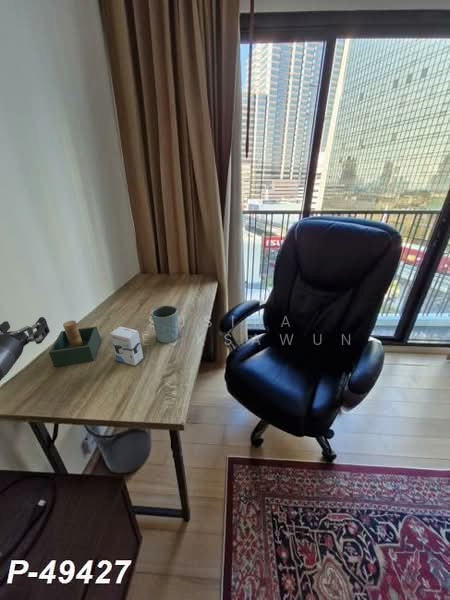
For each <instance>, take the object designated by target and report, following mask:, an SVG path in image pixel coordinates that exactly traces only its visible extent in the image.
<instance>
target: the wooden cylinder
mask: <svg viewBox="0 0 450 600" xmlns="http://www.w3.org/2000/svg"><path fill="white" fill-rule="evenodd" d="M62 326H63V330H64V331H65V332H66V335H67V338H68V341H69V344H70V346H71V348H74V347H81V346H84V345H83V342H82V339H81V336H80V333H79V330H78V329H79V327H78V324H77V321H76V320H73V319H72V320H67V321H65V322H64V323H63V324H62Z"/></svg>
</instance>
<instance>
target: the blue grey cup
mask: <svg viewBox="0 0 450 600" xmlns="http://www.w3.org/2000/svg"><path fill="white" fill-rule="evenodd" d="M178 312H179V311H178V307H176V306H174V305H161V306H160V305H159V306H157V307H155V308H153V309H152V310H151V312H150V315H151V319H152V322H153V326H154V331H155V335H156V339H157V340H158V342H160V343H163V344H168V343H169V344H170V343H173V342H174V341H176V340H177V339H178V338H179V327H178V326H179V321H178Z"/></svg>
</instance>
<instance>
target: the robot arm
mask: <svg viewBox="0 0 450 600" xmlns="http://www.w3.org/2000/svg"><path fill="white" fill-rule="evenodd" d="M10 329H11V324H10V323H9V320H8V321H7V320H6V321H5V320H4V321H3V322H2V323H0V382H1V381H2V380H3V379H4V378H5V377H6V376H7V374H9V372H10V371H11V370H12V368H13V367H14V365H15V364H16V363H17V361H18V360H19V358H20V357H21V356H22V354H23V353H24V352H23V351H24V348H25V346H27V345H28V344H29V343H33V342H34V343H35V344H36V345H40V344H42V343H43V341H44V340H45V339H46V337H47V336H48V335H49V334H50V332H51V331H50V328H49V325H48V322H47V319H46V318H45V317H44V316H40V317H39V318H38V319H37V321H36V322H35V323H34V324H32V325H30V326H29V325H26V326H24V327H21V328H19V329H17V330H13V331H11V330H10ZM34 329H36V330H35V331H34ZM26 332H27V333H26Z"/></svg>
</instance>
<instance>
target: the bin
mask: <svg viewBox="0 0 450 600" xmlns="http://www.w3.org/2000/svg"><path fill="white" fill-rule="evenodd" d="M78 330H79V333H80V336H81V339H82V342H83V345H84V346H81V347H74V348H71V346H70V344H69V341H68V338H67V335H66V332H65V330H61V331H60V333H59V335H57V338H56V339H55V341H54V343H53V345H52V347H51V348H50V349H49V351H48V354H49V357H50V359H51V362H52V364H53V367H54V368H56V367H63V366H69V365H75V364H82V363H87V362H88V363H89V362H94V360H95V357H96V355H97V352H98V348H99V345H100V342H101V337H100V333H99V330H98V326H89V327H82V328H81V327H80V328H78Z"/></svg>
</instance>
